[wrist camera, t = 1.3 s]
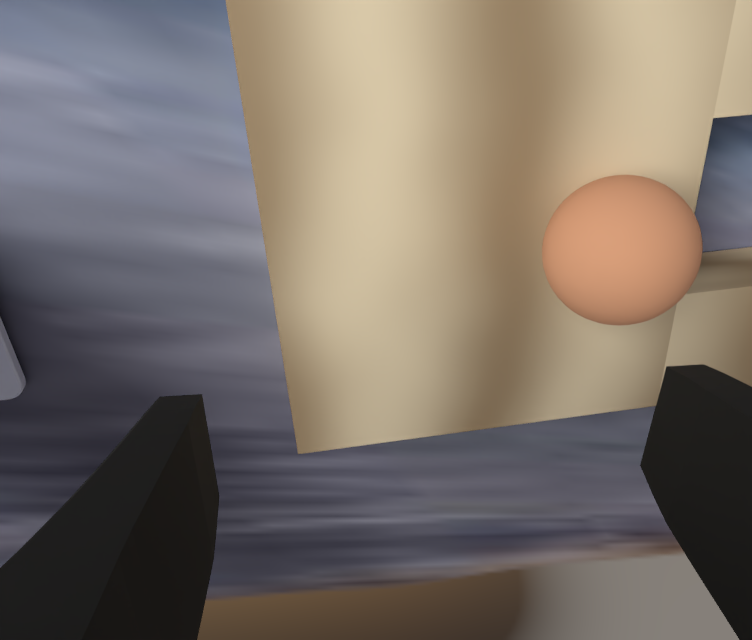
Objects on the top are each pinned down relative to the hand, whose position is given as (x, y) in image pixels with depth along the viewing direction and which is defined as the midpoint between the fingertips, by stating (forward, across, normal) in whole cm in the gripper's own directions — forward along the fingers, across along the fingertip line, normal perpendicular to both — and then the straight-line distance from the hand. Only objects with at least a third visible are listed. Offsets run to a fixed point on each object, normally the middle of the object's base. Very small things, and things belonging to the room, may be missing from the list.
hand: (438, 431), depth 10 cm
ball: (+6, -6, 0) cm, 8 cm away
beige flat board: (+10, -6, 0) cm, 12 cm away
